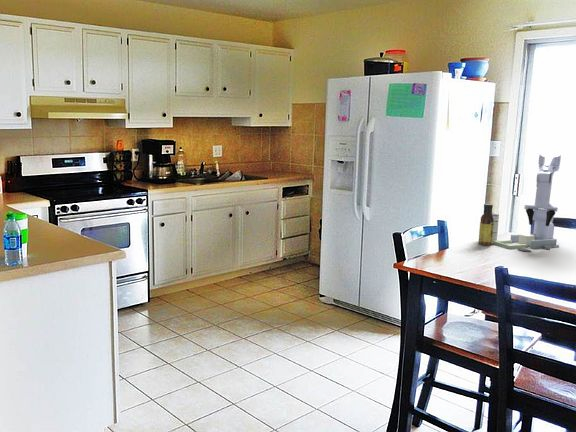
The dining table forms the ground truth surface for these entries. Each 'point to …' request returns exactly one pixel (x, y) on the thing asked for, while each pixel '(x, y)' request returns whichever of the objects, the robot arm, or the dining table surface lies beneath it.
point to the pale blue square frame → (536, 241)
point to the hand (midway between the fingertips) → (538, 225)
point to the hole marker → (524, 250)
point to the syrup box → (495, 226)
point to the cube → (525, 239)
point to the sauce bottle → (486, 226)
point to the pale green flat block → (504, 244)
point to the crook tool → (550, 246)
